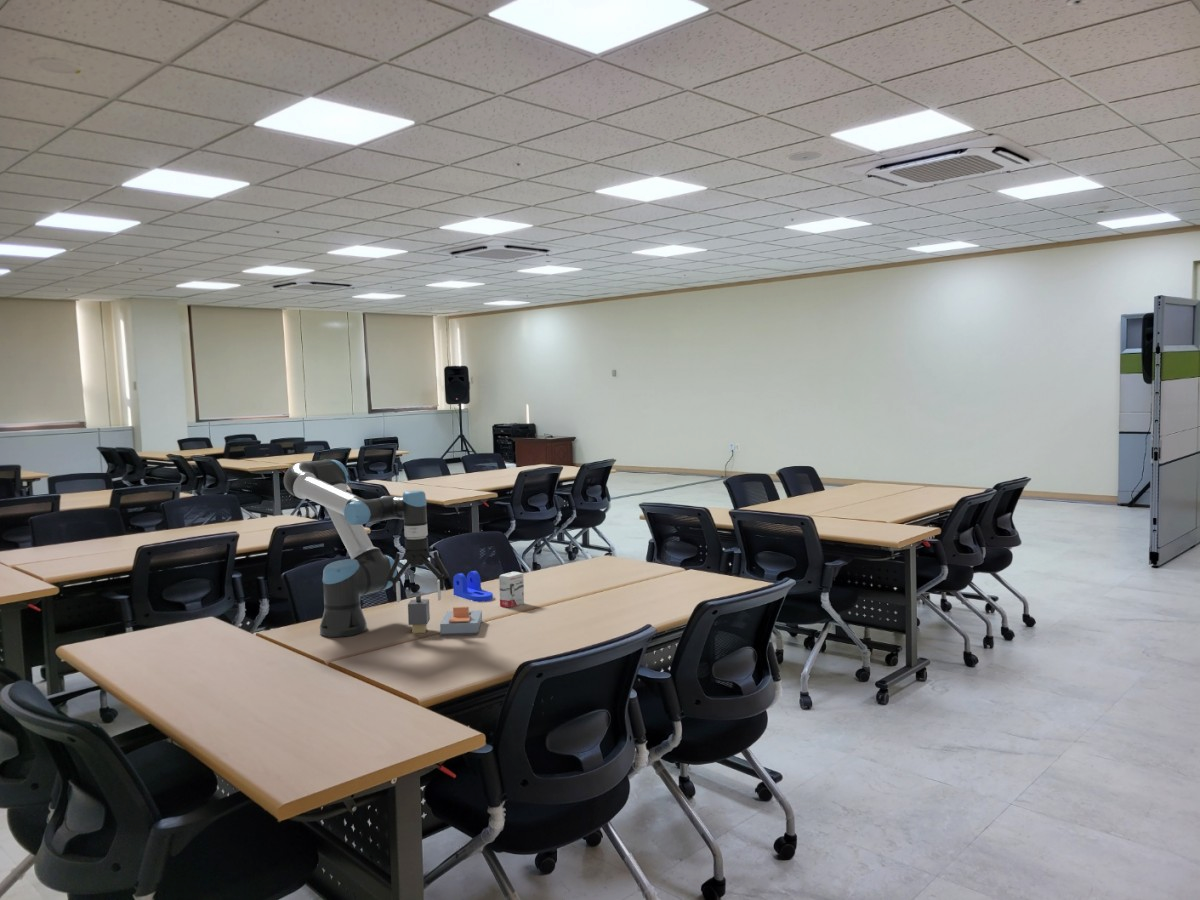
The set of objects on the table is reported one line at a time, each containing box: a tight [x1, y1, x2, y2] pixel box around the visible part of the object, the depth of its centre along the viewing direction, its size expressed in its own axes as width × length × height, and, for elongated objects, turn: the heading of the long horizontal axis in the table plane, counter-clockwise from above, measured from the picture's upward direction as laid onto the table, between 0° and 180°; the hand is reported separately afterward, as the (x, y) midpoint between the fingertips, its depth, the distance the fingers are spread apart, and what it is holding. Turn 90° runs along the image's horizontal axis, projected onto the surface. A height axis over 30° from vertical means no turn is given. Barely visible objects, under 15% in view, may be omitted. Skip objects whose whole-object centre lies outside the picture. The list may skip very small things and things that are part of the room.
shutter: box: [449, 606, 471, 622], centre depth 275 cm, size 7×7×3 cm
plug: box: [407, 594, 431, 634], centre depth 278 cm, size 6×6×12 cm
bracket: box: [452, 570, 494, 603], centre depth 324 cm, size 18×8×9 cm, turn 41°
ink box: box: [498, 571, 525, 609], centre depth 310 cm, size 9×5×12 cm, turn 143°
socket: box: [439, 609, 483, 637], centre depth 279 cm, size 12×16×4 cm
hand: (419, 600), depth 277 cm, fingers open, 13 cm apart
